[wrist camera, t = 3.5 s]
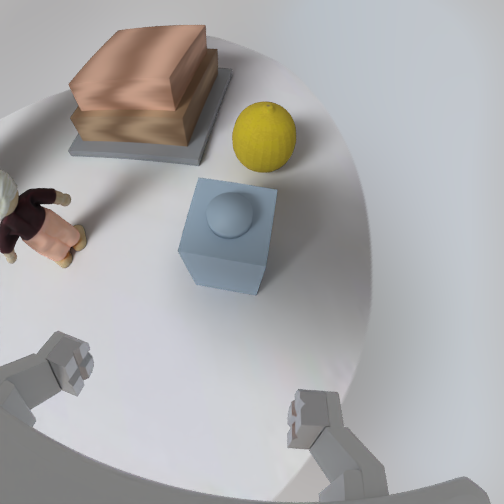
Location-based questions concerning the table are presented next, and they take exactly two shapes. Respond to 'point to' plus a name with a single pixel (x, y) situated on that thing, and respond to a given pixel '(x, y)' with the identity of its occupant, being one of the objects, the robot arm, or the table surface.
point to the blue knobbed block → (228, 235)
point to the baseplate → (160, 151)
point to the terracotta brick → (145, 86)
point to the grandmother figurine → (36, 223)
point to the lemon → (264, 137)
